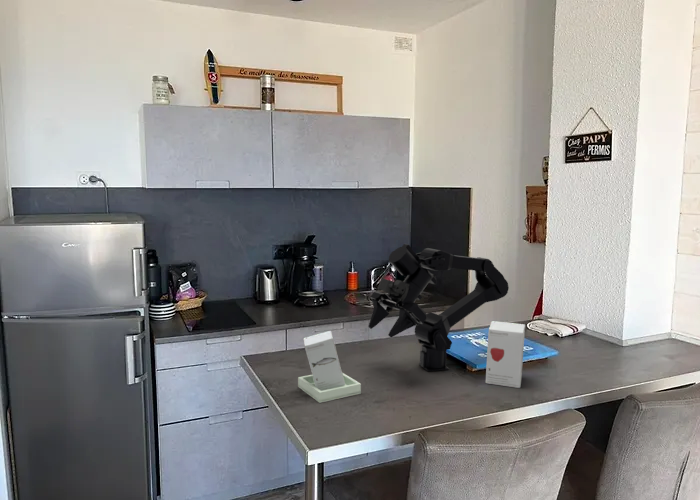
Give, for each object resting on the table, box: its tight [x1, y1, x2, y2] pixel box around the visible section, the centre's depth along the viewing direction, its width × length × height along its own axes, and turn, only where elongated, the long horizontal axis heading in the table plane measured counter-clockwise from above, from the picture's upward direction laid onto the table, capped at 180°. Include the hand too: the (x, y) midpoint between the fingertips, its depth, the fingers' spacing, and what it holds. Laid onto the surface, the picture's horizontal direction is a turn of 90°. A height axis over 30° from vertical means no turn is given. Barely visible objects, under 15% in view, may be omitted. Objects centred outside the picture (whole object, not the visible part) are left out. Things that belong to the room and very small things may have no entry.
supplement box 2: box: [485, 320, 526, 389], centre depth 143 cm, size 9×9×15 cm
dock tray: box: [297, 372, 362, 403], centre depth 135 cm, size 12×12×2 cm
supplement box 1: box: [303, 330, 345, 391], centre depth 134 cm, size 7×7×13 cm
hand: (379, 331), depth 142 cm, fingers open, 9 cm apart
